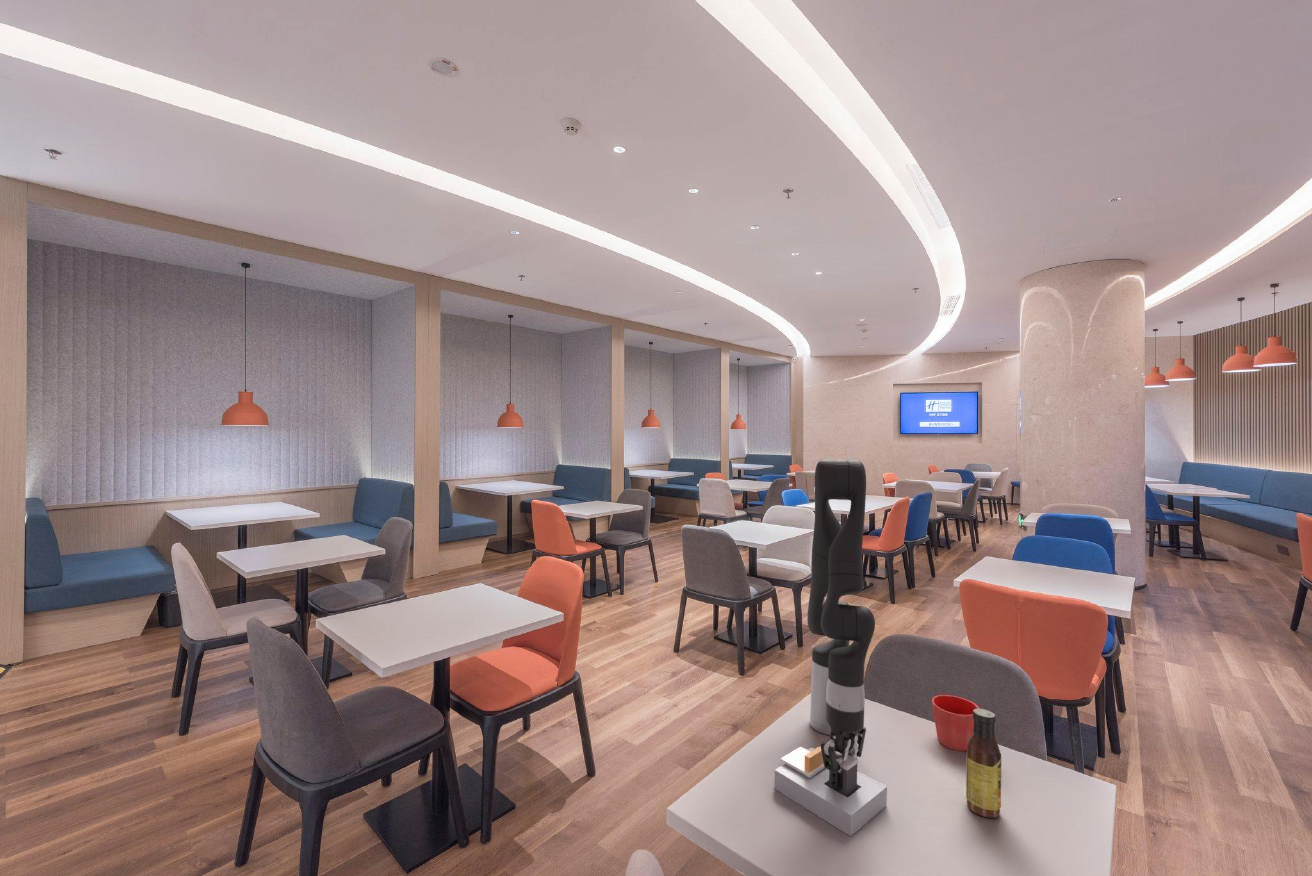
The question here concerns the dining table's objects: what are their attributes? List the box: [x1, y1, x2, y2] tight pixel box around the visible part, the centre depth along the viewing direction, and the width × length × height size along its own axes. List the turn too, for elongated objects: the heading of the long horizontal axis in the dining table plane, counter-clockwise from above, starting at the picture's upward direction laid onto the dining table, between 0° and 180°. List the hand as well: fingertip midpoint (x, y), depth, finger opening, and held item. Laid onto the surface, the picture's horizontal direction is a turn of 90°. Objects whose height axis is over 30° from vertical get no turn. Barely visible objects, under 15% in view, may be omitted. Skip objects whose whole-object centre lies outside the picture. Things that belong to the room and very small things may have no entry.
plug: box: [829, 751, 859, 798], centre depth 114 cm, size 4×4×8 cm
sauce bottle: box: [965, 708, 1003, 819], centre depth 113 cm, size 7×6×20 cm
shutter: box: [780, 745, 825, 778], centre depth 121 cm, size 8×8×4 cm
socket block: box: [773, 747, 888, 837], centre depth 116 cm, size 14×18×4 cm
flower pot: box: [931, 694, 980, 752], centre depth 138 cm, size 11×11×10 cm
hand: (842, 783), depth 114 cm, fingers closed on plug, 4 cm apart
